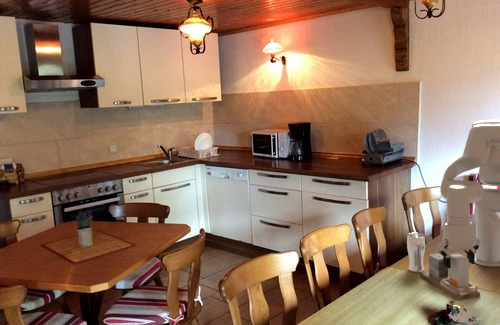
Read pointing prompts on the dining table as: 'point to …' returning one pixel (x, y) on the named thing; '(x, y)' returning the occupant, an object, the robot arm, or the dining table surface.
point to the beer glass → (416, 251)
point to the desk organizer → (446, 279)
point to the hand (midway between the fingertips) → (459, 264)
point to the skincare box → (459, 271)
